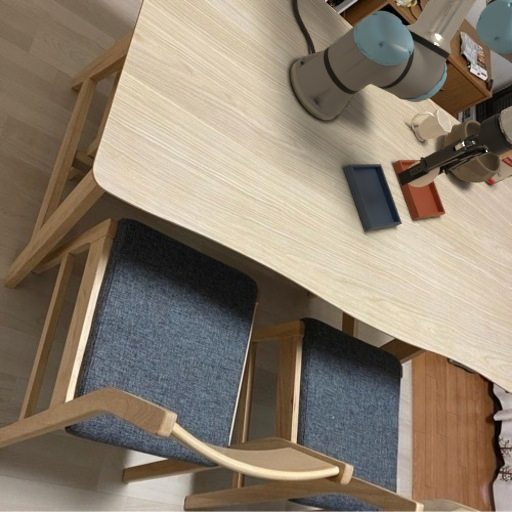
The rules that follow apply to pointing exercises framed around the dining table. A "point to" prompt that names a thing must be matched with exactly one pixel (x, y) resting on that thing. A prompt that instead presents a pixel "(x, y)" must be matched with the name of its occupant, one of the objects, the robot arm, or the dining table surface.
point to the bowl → (479, 167)
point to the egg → (424, 177)
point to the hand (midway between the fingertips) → (408, 179)
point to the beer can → (503, 170)
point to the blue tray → (372, 196)
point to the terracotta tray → (420, 195)
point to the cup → (432, 125)
